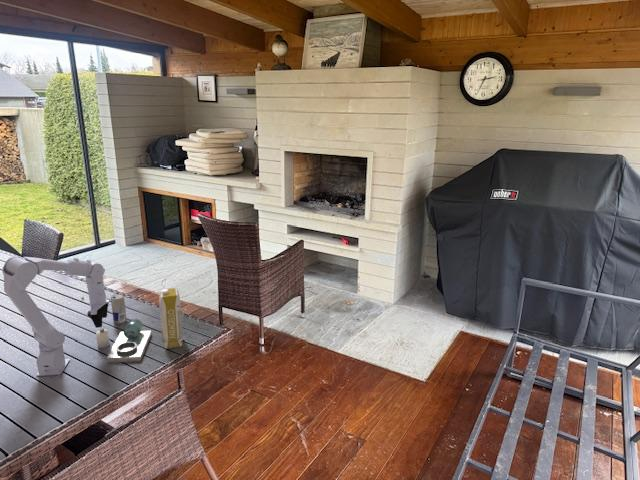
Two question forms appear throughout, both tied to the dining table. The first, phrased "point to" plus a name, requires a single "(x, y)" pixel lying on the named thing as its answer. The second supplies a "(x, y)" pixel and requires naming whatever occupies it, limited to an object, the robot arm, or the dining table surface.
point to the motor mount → (130, 343)
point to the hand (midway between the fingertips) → (101, 322)
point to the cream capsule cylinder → (102, 338)
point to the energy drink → (118, 308)
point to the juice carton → (171, 318)
